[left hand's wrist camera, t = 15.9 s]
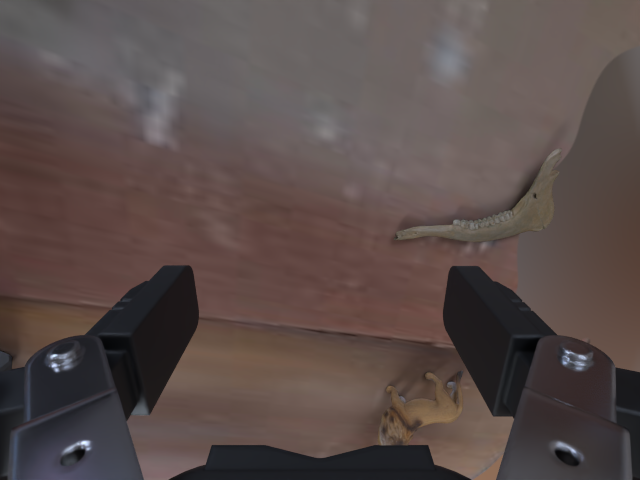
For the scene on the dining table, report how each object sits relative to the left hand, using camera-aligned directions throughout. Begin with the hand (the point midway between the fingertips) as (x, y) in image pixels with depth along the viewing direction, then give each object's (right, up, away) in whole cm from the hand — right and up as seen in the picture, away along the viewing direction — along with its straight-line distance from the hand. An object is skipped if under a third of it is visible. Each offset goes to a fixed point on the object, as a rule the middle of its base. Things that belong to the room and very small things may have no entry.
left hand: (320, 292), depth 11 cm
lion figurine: (+14, -21, +43) cm, 50 cm away
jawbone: (+18, +7, +32) cm, 37 cm away
